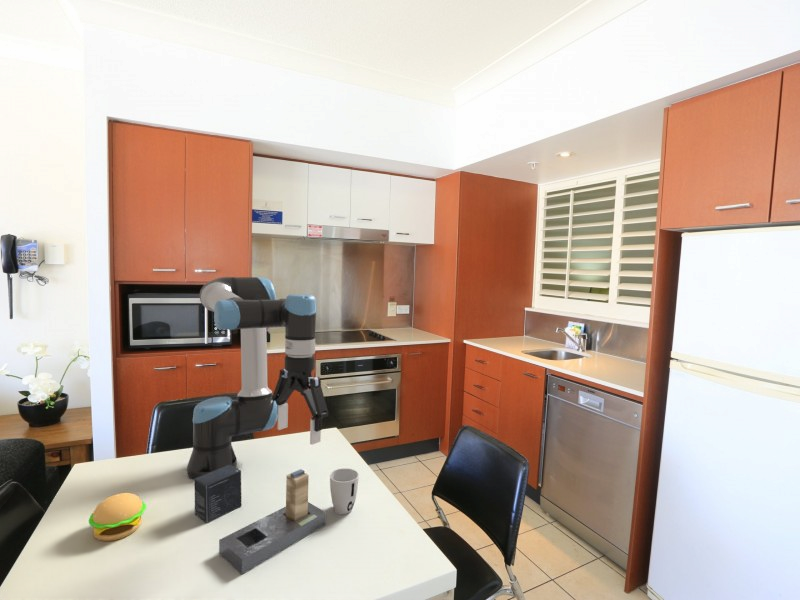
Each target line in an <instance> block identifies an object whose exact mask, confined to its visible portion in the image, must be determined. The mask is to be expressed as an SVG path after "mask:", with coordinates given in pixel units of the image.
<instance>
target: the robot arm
mask: <svg viewBox="0 0 800 600" xmlns="http://www.w3.org/2000/svg"><path fill="white" fill-rule="evenodd" d="M276 296H277V295H276V291H275V286H274V285H273V282H272V281H271V280H270V279H269V278H266V277H258V276H255V277H254V276H253V277H250V276H249V277H248V276H247V277H242V276H239V277H237V276H222V277H218V278H214V279H211V280H210V281H208V282H206V283H205V284H203V286H202V287H201V288H200V291H199V299H200V300H199V301H200V303H201V304H202V306H203V307H204V308H205V309H206V310H208V311H210V312H213V313H214V314H213V320H214V325H215V327H216V328H217V329H218V330H227V331H228V330H229V331H233V330H240V357H241V358H240V359H241V361H240V362H241V364H240V366H241V371H240V372H241V389H240V391H239V392H238V393H237V395H236V400H232V398H231V397H229V396H216V397H211V398H207V399H205V400H202V401H200V402H198V403H197V404H196V405H195V407H194V409H193V412H192V413H193V415H192V416H193V417H192V425H193V426H192V428H193V429H192V430H193V433H192V451H191V454H190V456H189V457H190V458H189V460H188V462H187V465H186V474H187V477H188V478H190V479H192V480H194V479H195V478H197V477H200V476H202V475H205V474H207V473H210V472H212V471H215V470H217V469H220V468H222V467H225V466H227V465H230V466H233V467H235V468H237V466H238V461H237V455H236V453H235V451H234V448H233V445H232V437H235V436H240V435H242V436H243V435H247V434H251V433H258V432H259V433H260V432H261V433H262V432H264V431H267V430H271V429H272V428H274V426H275V425H276V423H277V430H278V431H281V430H283V429H286V428H288V426H289V424H288V422H289V421H288V420H289V404H288V402H289V398H290V397H291V395H292V393H293V392H294V391H296V392H298V393H300V395H301V396H303V397H304V400H305V402H306V404H307V407H308V409H309V411H310V414H311V416H312V417H311V418H310V420H309V421H310V424H309V427H310V428H309V430H310V431H309V435H310V436H309V445H311V446H312V445H315V444H318V443H320V442H321V438H322V437H321V436H322V435H321V434H322V429H323V418H326V417H328V416H329V410H328V407H327V403H326V400H325V396H324V392H323V389H322V384H321V383H322V380H321V377H320V376H316V377H313V375H312V372H313V371H314V370H315V367H316V366H315V365H316V364H315V363H316V361H315V360H316V357H315V355H314V354H315V353H316V324H317V320H316V319H317V299H316V297H315V296H314V295H312V294H303V293H301V294H300V293H299V294H298V293H297V294H288V295H287V296H286V297H285V298H278V299H277V297H276ZM270 328H284V330H285V333H284V336H285V337H284V339H285V341H284V342H285V343H284V347H285V348H284V349H285V350H284V353H285V354H286V355H285V356H284V368H283V369H282V368H281V369H280V370H279V375H278V378H277V379H278V380H277V383H276V386H275V388H274V391H273V390H271V389H270V388H269V387H268V386H269V385H268V346H267V345H268V342H267V339H268V338H267V337H268V336H267V329H270Z"/></svg>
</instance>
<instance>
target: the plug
mask: <svg viewBox="0 0 800 600" xmlns="http://www.w3.org/2000/svg"><path fill="white" fill-rule="evenodd" d="M285 477H286V478H285V479H286V480H285V481H286V485H285V490H286V491H285V507H286V517H288V518H289V519H291V520H292V521H294V522H296V521H298V520H300V519H302V518H304V517H306V516H307V515H308V502H309V474H308V473H305V470H303V469H302V468H300V469H297V470H295V471H293V472H291V473H289V474H286V476H285Z"/></svg>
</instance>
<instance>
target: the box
mask: <svg viewBox="0 0 800 600" xmlns="http://www.w3.org/2000/svg"><path fill="white" fill-rule="evenodd" d="M193 480H194V481H193V482H194V483H193V486H194V516H196V517H197V518H198V519H199V520H201V521H203V522H204V523H206V524H209V523H211V522H212V521H214V520H216V519H218V518H221V517H223V516H225V515H226V514H228V513H230V512H232V511H234V510H236V509H238V508H240V507H242V470H241V469H238V468H237V467H236V468H235V467H233V466H230V465H227V466H225V467H222V468H220V469H217V470H215V471H212V472H210V473H207V474H205V475H202V476H200V477H197V478H195V479H193Z"/></svg>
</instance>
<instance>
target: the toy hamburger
mask: <svg viewBox="0 0 800 600" xmlns="http://www.w3.org/2000/svg"><path fill="white" fill-rule="evenodd" d="M146 509H147V505H146V503H145V502H143V501H142V500H141V498H140V497H139V495H137V494H135V493H131V492H122V493H116V494H114V495H111V496H109V497H108V496H107V497H106V498H105V499H103V501H101V502H100V503H98V504H97V506H96V508H95V509H94V510H93V513H90V515H89V518H88V524H89V526H91V527H93V536H94V537H95V539H97V540H99V541H103V542H112V541H116V540H117V541H118V540H120V539H123V538H126V537H128V536H129V535H131V534H133V533H135V532H136V531H137V530H138V529H139V528H140V526H141V525H142V523H143V522H142V521H143V518H142V515H143V514H144V512H145V510H146Z"/></svg>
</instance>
